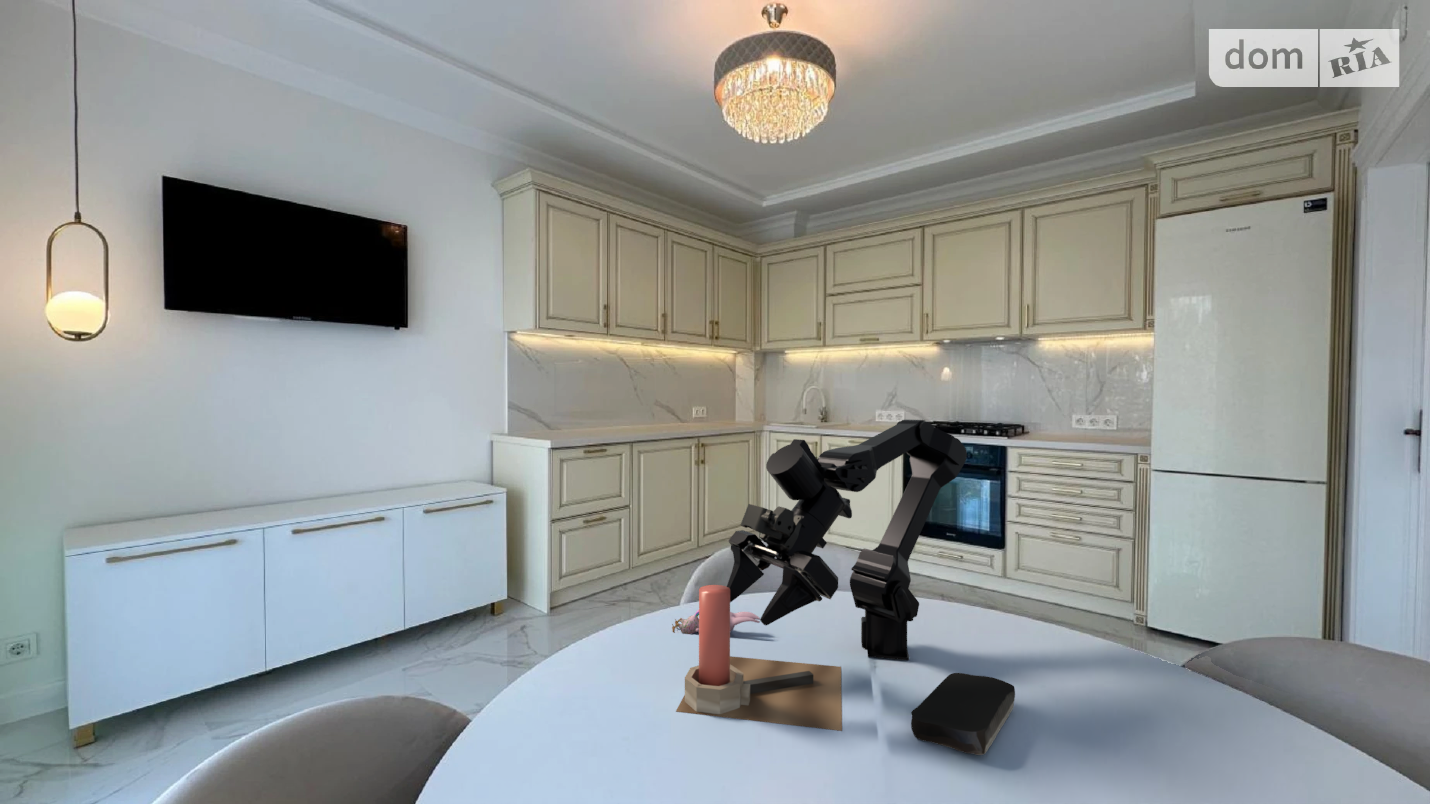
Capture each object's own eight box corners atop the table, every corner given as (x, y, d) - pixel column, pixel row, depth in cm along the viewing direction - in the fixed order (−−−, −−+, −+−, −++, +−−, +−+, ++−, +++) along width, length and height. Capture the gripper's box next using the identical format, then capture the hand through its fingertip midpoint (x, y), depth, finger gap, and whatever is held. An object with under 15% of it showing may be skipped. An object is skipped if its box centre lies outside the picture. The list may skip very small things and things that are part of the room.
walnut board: (841, 675, 84) (841, 645, 84) (841, 740, 67) (841, 704, 67) (706, 662, 88) (706, 634, 88) (675, 721, 71) (675, 686, 71)
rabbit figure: (672, 647, 97) (760, 637, 95) (666, 611, 97) (754, 601, 95) (679, 633, 103) (762, 623, 101) (674, 599, 103) (757, 589, 101)
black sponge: (982, 771, 62) (982, 737, 62) (905, 741, 68) (905, 710, 68) (1019, 711, 75) (1019, 682, 75) (951, 690, 80) (951, 664, 80)
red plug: (732, 693, 76) (732, 586, 76) (726, 708, 72) (727, 595, 72) (702, 689, 77) (703, 583, 77) (695, 704, 73) (695, 593, 73)
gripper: (740, 476, 88) (673, 558, 82) (821, 491, 71) (745, 595, 66) (781, 523, 91) (720, 605, 86) (867, 548, 75) (800, 651, 70)
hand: (742, 612), depth 77 cm, fingers open, 9 cm apart
